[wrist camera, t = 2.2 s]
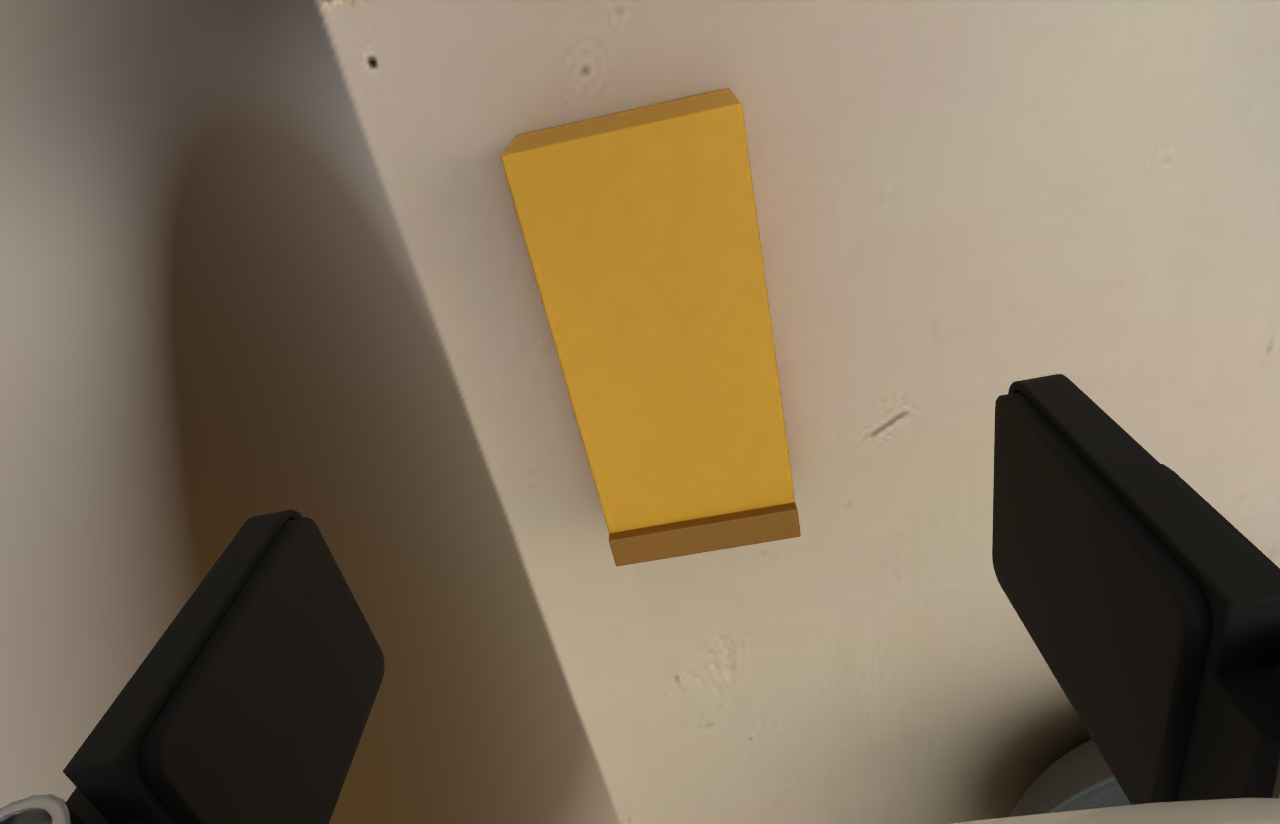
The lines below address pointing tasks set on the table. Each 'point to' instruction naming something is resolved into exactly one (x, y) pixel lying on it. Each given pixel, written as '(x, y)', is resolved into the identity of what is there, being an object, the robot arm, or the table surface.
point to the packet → (661, 321)
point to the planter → (1073, 785)
